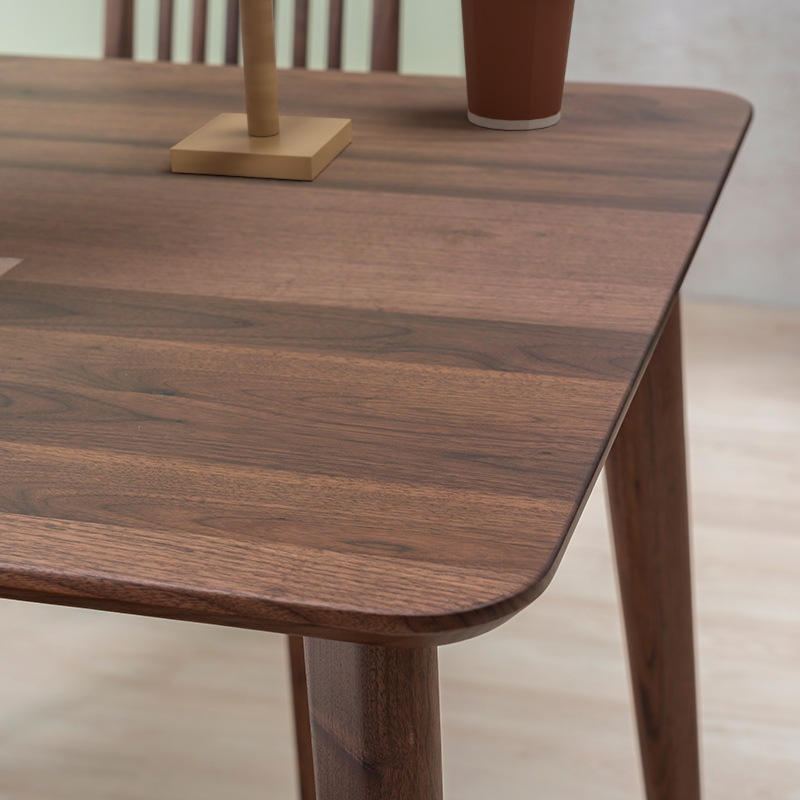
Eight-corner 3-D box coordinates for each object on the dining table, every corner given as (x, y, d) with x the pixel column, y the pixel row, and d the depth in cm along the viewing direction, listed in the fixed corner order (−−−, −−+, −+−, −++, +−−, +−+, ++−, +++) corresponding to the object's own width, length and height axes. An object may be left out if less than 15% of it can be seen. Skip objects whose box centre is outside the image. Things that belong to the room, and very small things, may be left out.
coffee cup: (577, 137, 83) (588, -54, 78) (440, 133, 84) (441, -56, 79) (581, 104, 91) (591, -72, 86) (456, 100, 92) (458, -73, 87)
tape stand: (171, 172, 77) (154, -6, 72) (223, 134, 85) (211, -29, 80) (312, 181, 75) (304, -1, 70) (352, 141, 83) (347, -25, 78)
